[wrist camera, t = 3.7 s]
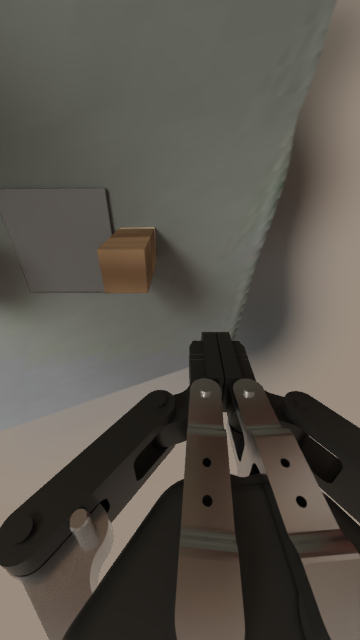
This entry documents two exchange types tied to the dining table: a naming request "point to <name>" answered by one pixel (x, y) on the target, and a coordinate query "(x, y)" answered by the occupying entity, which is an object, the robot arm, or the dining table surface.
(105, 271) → the tan wooden block
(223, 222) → the dining table surface
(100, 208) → the mat
